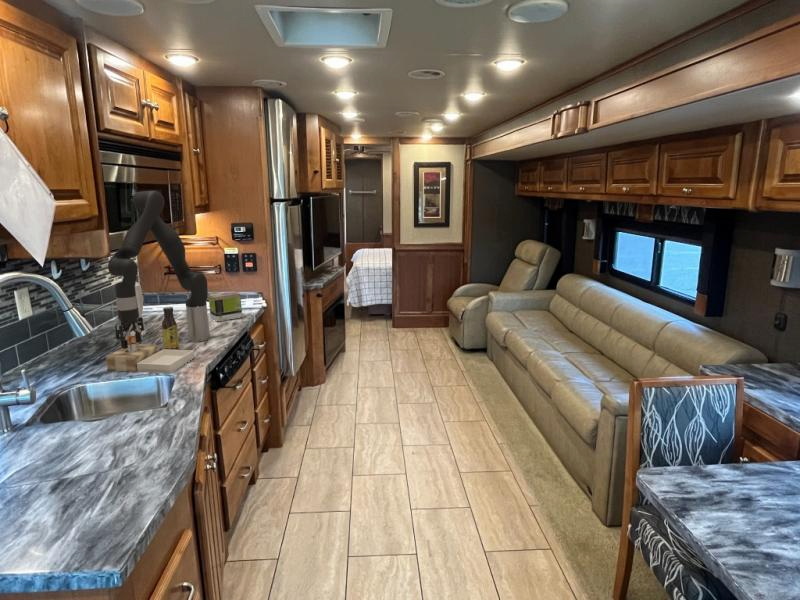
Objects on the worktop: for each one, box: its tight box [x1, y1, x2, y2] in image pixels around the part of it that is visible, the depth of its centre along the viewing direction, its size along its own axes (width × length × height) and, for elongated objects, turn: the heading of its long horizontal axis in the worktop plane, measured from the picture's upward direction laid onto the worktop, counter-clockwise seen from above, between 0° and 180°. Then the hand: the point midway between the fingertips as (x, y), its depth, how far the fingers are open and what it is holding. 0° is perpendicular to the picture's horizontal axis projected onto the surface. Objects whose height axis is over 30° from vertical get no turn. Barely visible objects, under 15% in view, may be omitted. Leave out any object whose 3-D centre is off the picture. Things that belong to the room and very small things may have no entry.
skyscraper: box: [130, 281, 148, 336], centre depth 236 cm, size 8×8×28 cm
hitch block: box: [105, 343, 160, 373], centre depth 198 cm, size 16×12×6 cm
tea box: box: [208, 290, 243, 322], centre depth 269 cm, size 15×10×15 cm, turn 130°
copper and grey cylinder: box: [127, 335, 138, 352], centre depth 197 cm, size 3×3×12 cm
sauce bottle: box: [161, 306, 180, 350], centre depth 214 cm, size 7×6×20 cm
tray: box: [137, 348, 195, 374], centre depth 198 cm, size 18×14×4 cm
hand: (132, 345), depth 197 cm, fingers open, 8 cm apart
